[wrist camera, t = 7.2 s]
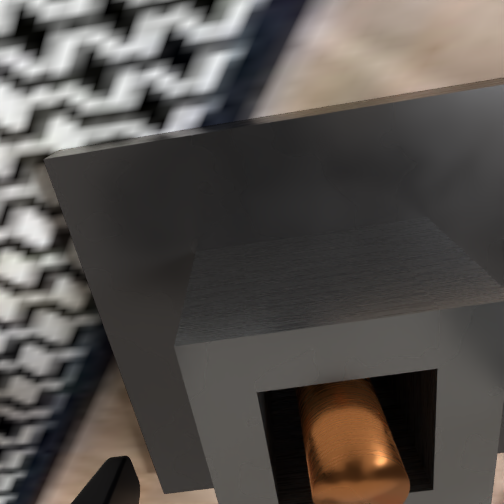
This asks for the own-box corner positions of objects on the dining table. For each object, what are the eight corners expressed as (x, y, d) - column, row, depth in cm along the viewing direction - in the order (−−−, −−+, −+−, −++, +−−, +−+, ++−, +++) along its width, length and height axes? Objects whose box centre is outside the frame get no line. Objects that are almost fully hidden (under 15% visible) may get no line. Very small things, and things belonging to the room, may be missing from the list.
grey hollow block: (423, 395, 14) (489, 521, 10) (234, 419, 14) (231, 550, 10) (427, 217, 11) (516, 299, 7) (196, 251, 11) (173, 346, 8)
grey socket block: (494, 428, 16) (628, 630, 10) (168, 469, 16) (130, 680, 11) (535, 72, 11) (840, 98, 5) (59, 150, 11) (-115, 246, 6)
